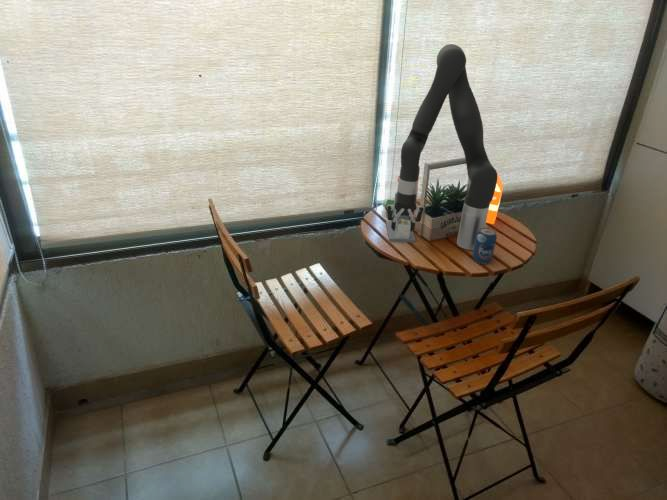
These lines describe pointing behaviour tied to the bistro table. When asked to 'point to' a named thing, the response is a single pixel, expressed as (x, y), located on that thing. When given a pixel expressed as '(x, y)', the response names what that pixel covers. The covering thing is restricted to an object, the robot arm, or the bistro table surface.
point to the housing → (402, 228)
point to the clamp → (390, 204)
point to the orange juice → (495, 202)
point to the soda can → (484, 245)
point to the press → (392, 233)
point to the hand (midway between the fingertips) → (402, 230)
